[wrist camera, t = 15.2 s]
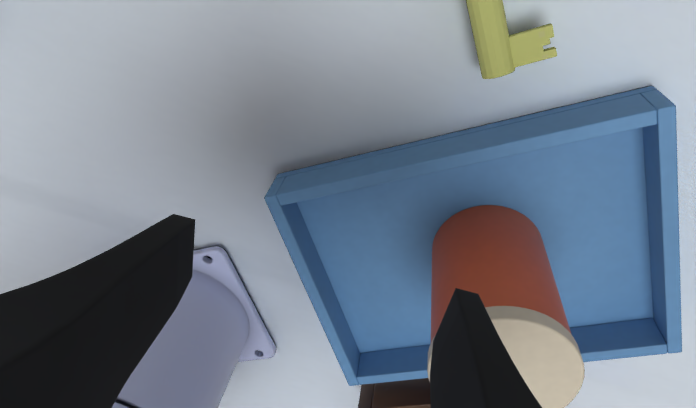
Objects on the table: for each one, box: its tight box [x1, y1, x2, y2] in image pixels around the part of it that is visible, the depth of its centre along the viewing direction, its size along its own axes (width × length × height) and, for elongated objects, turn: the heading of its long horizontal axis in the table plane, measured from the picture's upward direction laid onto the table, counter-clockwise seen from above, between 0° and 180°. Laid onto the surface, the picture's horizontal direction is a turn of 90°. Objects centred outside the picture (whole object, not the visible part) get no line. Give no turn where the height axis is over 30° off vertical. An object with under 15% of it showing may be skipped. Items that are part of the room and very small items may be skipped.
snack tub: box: [427, 205, 585, 408], centre depth 21 cm, size 5×5×8 cm
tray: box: [264, 86, 682, 386], centre depth 24 cm, size 16×12×2 cm
